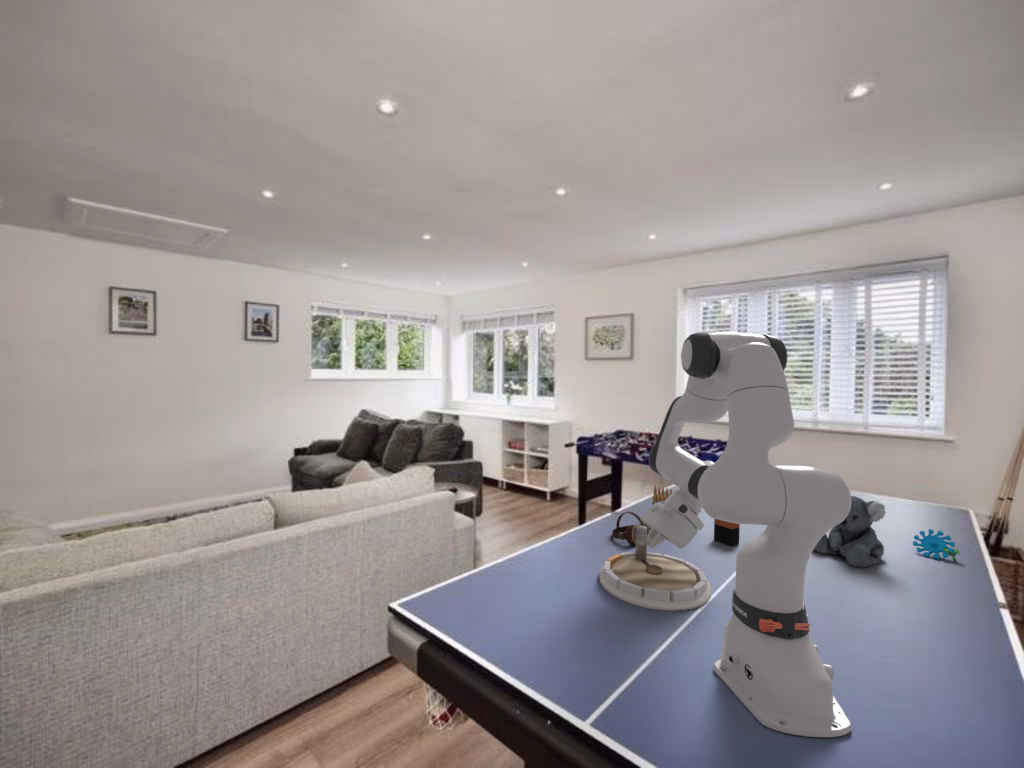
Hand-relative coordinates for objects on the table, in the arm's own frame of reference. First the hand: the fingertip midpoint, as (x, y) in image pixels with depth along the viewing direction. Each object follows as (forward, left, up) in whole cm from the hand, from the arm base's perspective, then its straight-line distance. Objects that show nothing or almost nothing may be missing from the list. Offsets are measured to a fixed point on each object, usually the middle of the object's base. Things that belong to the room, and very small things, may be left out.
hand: (647, 545), depth 133 cm
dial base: (-9, 0, -7) cm, 11 cm away
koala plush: (+17, -67, -7) cm, 69 cm away
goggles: (+26, -1, -7) cm, 27 cm away
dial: (-9, 0, -5) cm, 10 cm away
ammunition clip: (+49, -18, -7) cm, 53 cm away
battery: (+25, -32, -7) cm, 41 cm away
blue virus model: (+19, -93, -7) cm, 95 cm away
